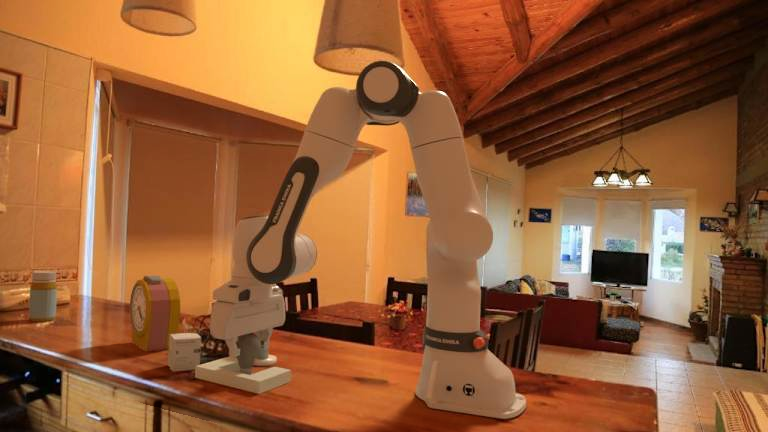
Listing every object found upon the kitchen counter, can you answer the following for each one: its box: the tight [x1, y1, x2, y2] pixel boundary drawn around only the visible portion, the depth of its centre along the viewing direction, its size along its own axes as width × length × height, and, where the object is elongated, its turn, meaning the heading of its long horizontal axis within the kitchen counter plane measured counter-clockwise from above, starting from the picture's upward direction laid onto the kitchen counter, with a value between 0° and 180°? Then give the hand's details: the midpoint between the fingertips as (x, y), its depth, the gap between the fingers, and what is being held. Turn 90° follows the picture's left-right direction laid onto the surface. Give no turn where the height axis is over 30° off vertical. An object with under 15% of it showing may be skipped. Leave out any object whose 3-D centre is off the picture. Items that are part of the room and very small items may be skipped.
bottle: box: [28, 270, 58, 323], centre depth 164 cm, size 7×7×15 cm
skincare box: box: [167, 332, 202, 373], centre depth 122 cm, size 6×6×7 cm
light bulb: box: [235, 332, 261, 375], centre depth 116 cm, size 6×6×10 cm
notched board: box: [194, 356, 292, 395], centre depth 115 cm, size 18×10×2 cm, turn 62°
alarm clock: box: [129, 275, 181, 352], centre depth 141 cm, size 15×8×18 cm, turn 42°
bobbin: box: [253, 331, 278, 367], centre depth 130 cm, size 7×7×10 cm
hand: (249, 352), depth 117 cm, fingers open, 8 cm apart
